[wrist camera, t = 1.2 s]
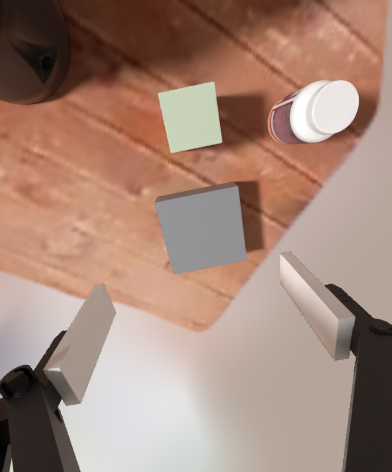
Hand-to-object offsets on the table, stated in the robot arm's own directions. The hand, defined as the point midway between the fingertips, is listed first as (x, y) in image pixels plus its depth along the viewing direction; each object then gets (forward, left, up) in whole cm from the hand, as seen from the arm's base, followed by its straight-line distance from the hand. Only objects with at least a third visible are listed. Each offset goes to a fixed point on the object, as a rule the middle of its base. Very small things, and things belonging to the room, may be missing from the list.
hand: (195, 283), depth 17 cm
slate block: (+3, +2, -21) cm, 21 cm away
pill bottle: (-10, +17, -21) cm, 29 cm away
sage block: (-12, +3, -21) cm, 25 cm away
